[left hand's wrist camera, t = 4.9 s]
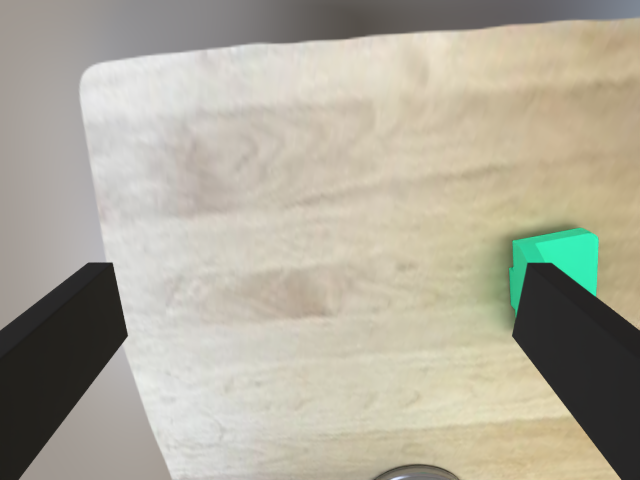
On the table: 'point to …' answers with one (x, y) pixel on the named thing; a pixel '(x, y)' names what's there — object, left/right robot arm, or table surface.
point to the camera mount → (556, 258)
